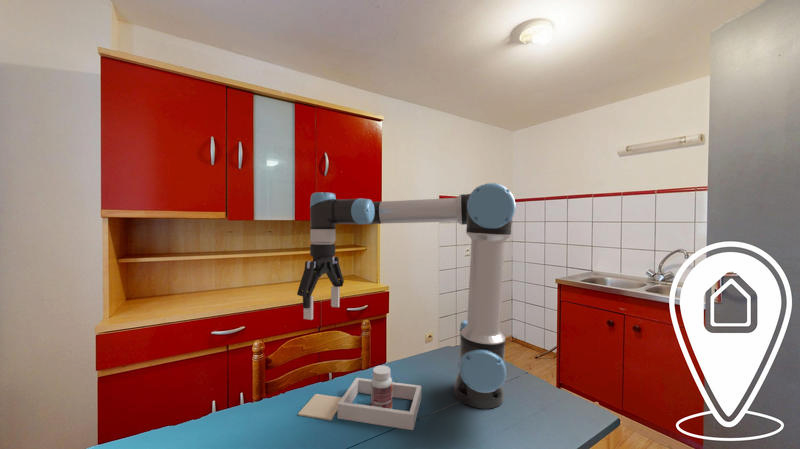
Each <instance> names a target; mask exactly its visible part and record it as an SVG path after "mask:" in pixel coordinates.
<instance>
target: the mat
mask: <svg viewBox="0 0 800 449" xmlns="http://www.w3.org/2000/svg"><path fill="white" fill-rule="evenodd" d="M341 399H342V397H340V396H334V395H327V394H318V393H315V394H314V395H313V396H312V397H311V399H309V401H308V402H307V403H306V404H305V405H304V406H303V407H302V408H301V410H300V411H299V412H298V413H297V415H298V416H301V417H307V418H308V417H309V418H313V419H314V418H315V419H319V420H326V421H332V420H333V418H334V417H335V415H336V413H338V403H339V401H340V400H341Z"/></svg>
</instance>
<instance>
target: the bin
mask: <svg viewBox="0 0 800 449" xmlns="http://www.w3.org/2000/svg"><path fill="white" fill-rule="evenodd" d="M371 381H372V378H371V379H370V378H364V377H363V378H361V377H356V378H355V379H354V380H353V382H352V383H351V385H350V386H349V387H348V389H347V390H346V391H345V393H344V394H343V396H342V397H341V398H342V399H341V400H340V401H339V403H338V411H337V419H338V420H339V419H340V420H345V421H353V422H359V423H365V424H371V425H377V426H383V427H388V428H389V427H390V428H396V429H402V430H407V431H409V430H410V431H414V428H415V425H416V421H417V417H418V414H419V413H418V412H419V408H420V404H421V400H422V385H418V384H410V383H401V382H394V381H392V398H396V399H403V400H404V399H405V400H412V402H411V406H410V409H409V411H408V410H402V409H395V408H392V409H389V408H382V407H375V406H371V405H368V404H367V405H366V404H361V403H360V404H359V403H353V402H354V400H355V398H357V396H358V394H359V393H361V394H367V395H371Z"/></svg>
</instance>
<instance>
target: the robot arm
mask: <svg viewBox="0 0 800 449" xmlns="http://www.w3.org/2000/svg"><path fill="white" fill-rule="evenodd" d="M512 193H513V192H512V191H510V189H508V188H507V187H506V186H504V185H503V184H500V183H496V182H488V183H484V184H481V185H479V186H477V187H475V188H474V189H473V190H472V192H471V193H465V194H459V195H458V196H457V197H451V198H449V197H448V198H446V197H445V198H428V199H409V200H408V199H406V200H389V201H388V200H387V201H386V200H385V201H384V200H383V201H373V200H372V199H369V198H347V199H346V198H345V199H344V198H342V199H339V198H336V193H333V192H320V191H319V192H313V193H312V194H311V196H310V201H309V202H310V203H309V204H310V205H309V209H310V211H309V213H310V214H309V215H310V217H309V219H310V220H309V222H310V224H309V225H310V237H309V238H310V239H309V241H310V243H311V244H310V245H309V250H310V251H309V256H310V257H312V260H306V261H305V262H304V269H303V273H302V276H301V280H300V282H299V283H300V284H299V286H298V289H297V292H296V294H297V296H299V297H302V308H303V320H310V321H312V320H314V296H313V292H314V289H315V287H316V286H317V283H318V281H319V278H320V277H322V276H323V275H325V274H326V275H327V278H328V279H329V281H330V283H331V284H332V286H331V287H330V288H331V289H330V307H331V308H340V293H341V292H340V290H341V289H340V288H341V287H343V286H344V282H345V280H344V277H343V273H342V270H341V265H340V261H339V257H338V256H336V244H335V242H336V225H381V224H383V225H384V224H410V223H411V224H413V223H414V224H415V223H416V224H417V223H448V222H449V223H450V222H452V223H453V222H456V223H458V224H460V225H466V229H465V230H466V232H465V233H466V234H467V236H468V237H469V238H470V239H471V243H470V259H469V260H470V262H469V279H468V300H467V301H468V302H467V319H466V320H463V321H461V323H460V327H459V332H460V333H459V335H460V336H459V339H460V341H459V360H458V364H457V365H458V373H457V375H456V378H455V381H454V383H453V384H454V385H453V388H454V395H455V397H456V399H458V401H460V402H462V403H463V404H464V405H466V406H469V407H471V408H475V409H476V408H477V409H482V410H483V409H486V410H487V409H493V408H494V409H495V408H498V407H499V406H501V405H502V404H503V402H504V401H505V400H504V399H505V398H504V397H505V392H504V388H503V385H504V383H505V381H506V380H507V379H506V378H507V366H506V364H505V363H506V362H505V354H506V352H505V350H506V336H505V335H504V334H503V332H502V331H501V330H500V329H501V311H502V296H503V277H504V258H505V243H506V241H507V240H508V239H509V238H510V237H511V236H512V228H513V226H512V224H513V217H514V215H515V212H516V209H517V208H516V201H515V197H514V195H513V194H512Z"/></svg>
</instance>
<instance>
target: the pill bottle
mask: <svg viewBox="0 0 800 449" xmlns="http://www.w3.org/2000/svg"><path fill="white" fill-rule="evenodd" d="M391 375H392V374H391V367H389V366H387V365H377V366H375V367H374V368H373V369H372V378H371V380H372V381H371V394H370V397H371V398H370V400H371V402H370V406H375V407H382V408H389V409H393V397H392V382H393V379H392V377H391Z"/></svg>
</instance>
